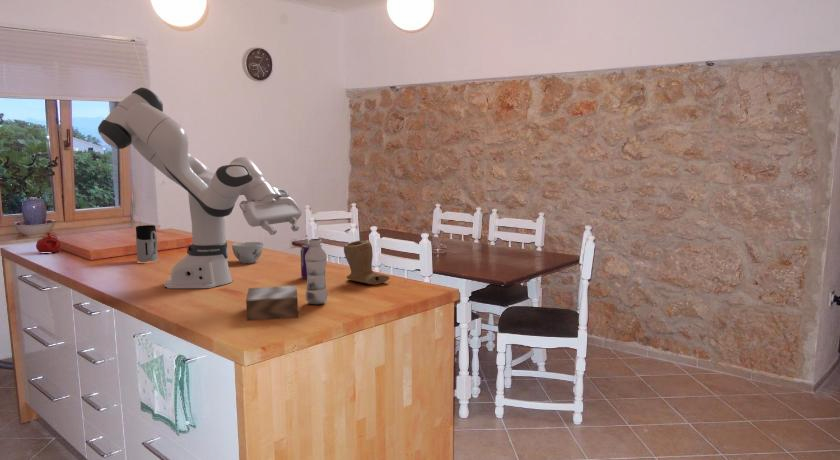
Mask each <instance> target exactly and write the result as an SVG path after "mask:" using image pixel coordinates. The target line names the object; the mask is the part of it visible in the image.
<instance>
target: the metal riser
mask: <svg viewBox="0 0 840 460" xmlns="http://www.w3.org/2000/svg"><path fill="white" fill-rule="evenodd" d="M298 299H299V298H298V289H297V285H282V286H267V287H265V286H264V287H248V290H247V294H246V299H245V302H246V303H245V304H246V305H245V306H246V321H262V320H263V321H264V320H276V319H277V320H278V319H292V318H299V304H298V303H299V301H298Z"/></svg>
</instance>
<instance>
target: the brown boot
mask: <svg viewBox="0 0 840 460" xmlns="http://www.w3.org/2000/svg"><path fill="white" fill-rule="evenodd" d="M343 254H344V256H345V260H346V261H347V263H348V266H349V268H350V274H348V275H347V276H346V279H347V280H349V281H352V282H356V283H361V284H362V283H363V284H368V285H374V286H375V285H376V286H377V285H380V284H381V285H382V284H383V283H386V282H388V281H389V280H390V276H388V275H385V274H381V273H377V272H374V271H373V266H372V265H373V264H372V263H373V257H374V256H373V254H374V253H373V246H372V243H371V242H370V240H368V239H366V240H355V241H351V242H348V243H346V244H344V246H343Z"/></svg>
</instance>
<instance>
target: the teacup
mask: <svg viewBox="0 0 840 460" xmlns="http://www.w3.org/2000/svg"><path fill="white" fill-rule="evenodd" d="M231 248H232V251H233V252H232V253H233V254H234V257H235V258H236V259H237V260H238V261H240V263H241V264H244V263H248V264H254V263H256V261H258V260H259V258H260V256H261V254H262V252H263V248H264V243H263V242H259V241H248V242H247V241H246V242H235V243H232V244H231Z"/></svg>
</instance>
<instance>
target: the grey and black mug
mask: <svg viewBox="0 0 840 460" xmlns="http://www.w3.org/2000/svg"><path fill="white" fill-rule="evenodd" d="M135 232H136V233H135V235H136V237H135V243H136V245H135V246H136V259H137V261H140V262H147V261H155V260H159V258H158V256H159V255H158V254H159V253H158V236H157V228H156V225H154V224H153V225H152V224H150V225H149V224H146V225H145V224H143V225H138V226H137V225H136V226H135ZM137 261H136V262H137Z"/></svg>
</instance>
